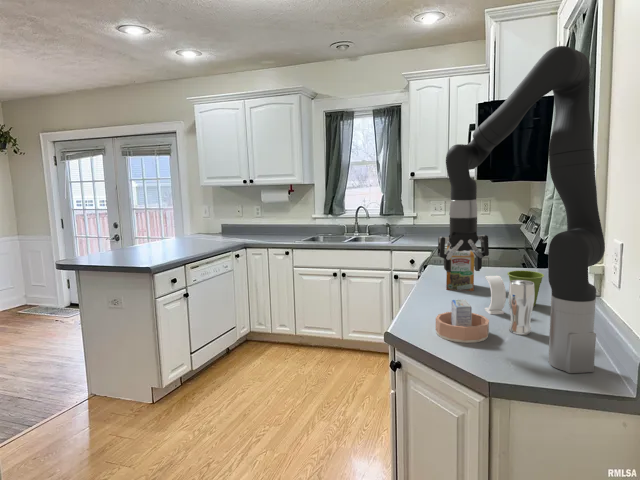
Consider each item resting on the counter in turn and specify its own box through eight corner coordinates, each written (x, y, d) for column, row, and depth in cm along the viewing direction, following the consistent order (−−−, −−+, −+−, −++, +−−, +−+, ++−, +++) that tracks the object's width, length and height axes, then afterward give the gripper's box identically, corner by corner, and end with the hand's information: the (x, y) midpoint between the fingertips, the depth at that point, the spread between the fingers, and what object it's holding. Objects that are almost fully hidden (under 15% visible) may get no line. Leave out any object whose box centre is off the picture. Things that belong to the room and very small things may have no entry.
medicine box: (471, 335, 127) (472, 306, 126) (455, 335, 128) (456, 306, 127) (465, 326, 135) (466, 299, 134) (450, 326, 136) (451, 299, 135)
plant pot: (499, 303, 162) (500, 272, 160) (522, 298, 166) (524, 269, 165) (525, 311, 151) (527, 279, 149) (550, 306, 156) (552, 275, 154)
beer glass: (511, 326, 137) (513, 278, 135) (535, 330, 133) (537, 281, 130) (504, 332, 132) (505, 283, 130) (529, 337, 127) (531, 286, 125)
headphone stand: (497, 309, 154) (498, 275, 152) (505, 314, 148) (506, 279, 146) (484, 309, 154) (485, 276, 152) (491, 315, 148) (492, 280, 146)
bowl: (496, 341, 125) (497, 326, 124) (445, 344, 124) (446, 328, 123) (475, 324, 139) (476, 310, 139) (430, 326, 139) (430, 312, 138)
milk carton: (446, 289, 182) (446, 244, 180) (447, 283, 192) (447, 240, 190) (473, 291, 179) (474, 244, 176) (472, 284, 189) (473, 240, 186)
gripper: (443, 217, 123) (443, 275, 125) (493, 215, 124) (492, 272, 126) (434, 215, 130) (434, 269, 132) (482, 213, 131) (481, 267, 133)
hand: (462, 271), depth 129 cm, fingers open, 8 cm apart
